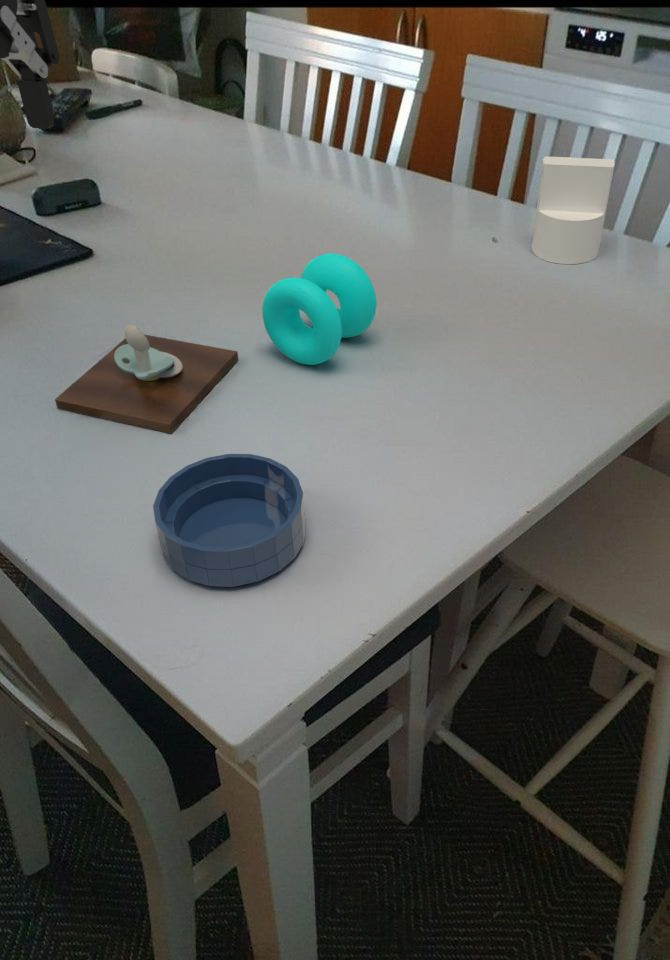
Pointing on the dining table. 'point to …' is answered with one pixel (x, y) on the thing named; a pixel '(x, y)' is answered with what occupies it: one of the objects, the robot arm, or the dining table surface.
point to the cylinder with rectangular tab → (571, 208)
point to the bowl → (230, 519)
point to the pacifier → (145, 357)
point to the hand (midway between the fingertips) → (9, 143)
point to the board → (149, 387)
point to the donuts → (319, 308)
